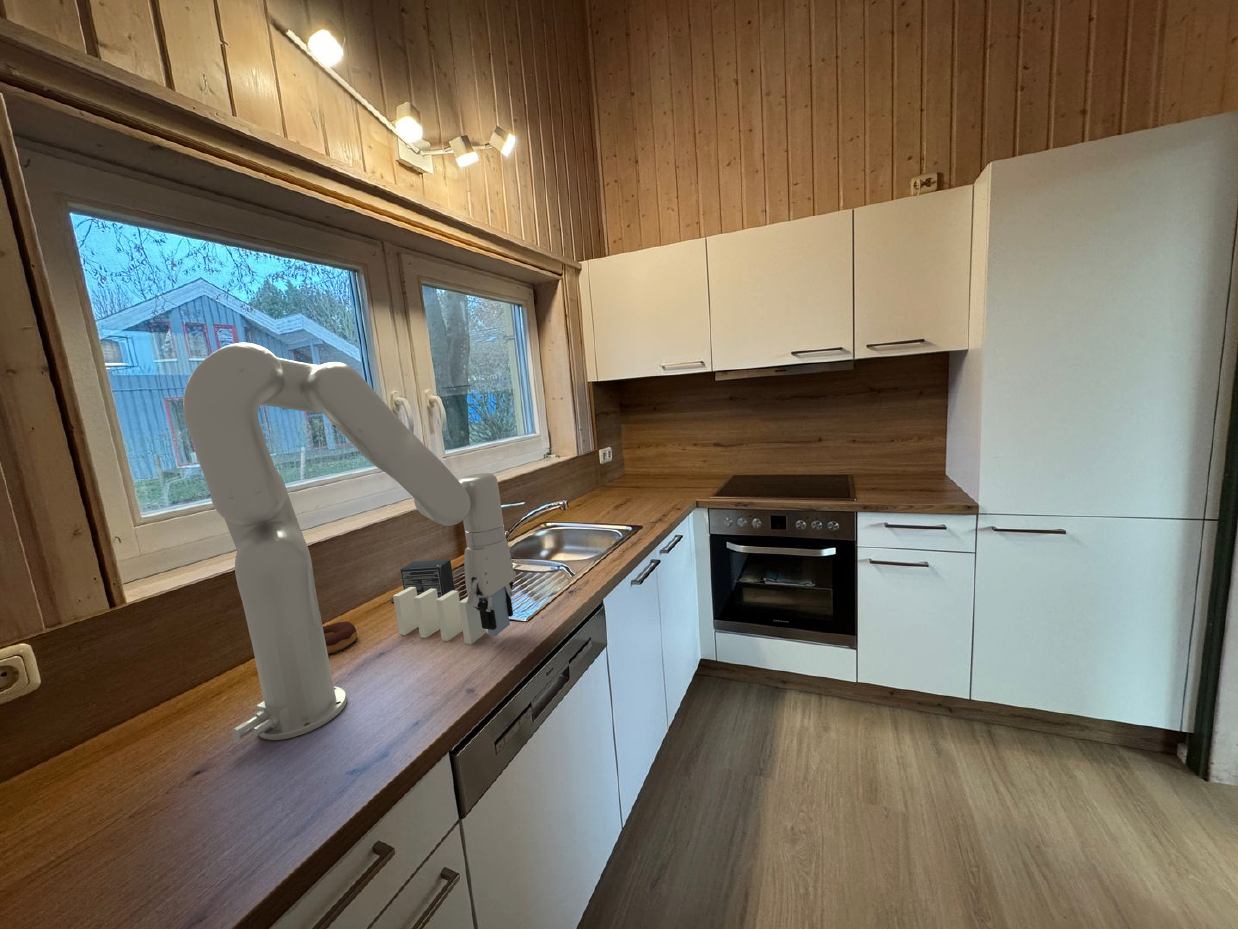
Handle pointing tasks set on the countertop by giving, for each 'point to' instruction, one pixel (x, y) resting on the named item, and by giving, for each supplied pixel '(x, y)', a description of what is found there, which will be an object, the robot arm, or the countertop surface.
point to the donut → (339, 636)
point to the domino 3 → (449, 615)
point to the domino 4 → (470, 622)
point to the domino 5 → (499, 612)
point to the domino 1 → (406, 610)
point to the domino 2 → (427, 612)
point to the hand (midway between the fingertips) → (497, 621)
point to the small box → (429, 576)
